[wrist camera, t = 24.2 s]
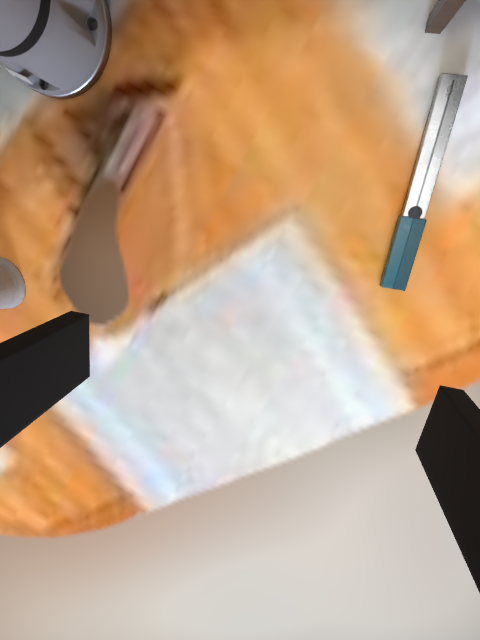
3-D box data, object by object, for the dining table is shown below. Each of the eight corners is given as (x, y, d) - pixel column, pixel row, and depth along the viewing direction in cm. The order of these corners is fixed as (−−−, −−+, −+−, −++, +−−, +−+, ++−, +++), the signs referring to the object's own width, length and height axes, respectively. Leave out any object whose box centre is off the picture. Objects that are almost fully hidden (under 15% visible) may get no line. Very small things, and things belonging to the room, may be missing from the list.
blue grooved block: (402, 288, 46) (405, 290, 45) (379, 284, 46) (381, 287, 45) (466, 78, 38) (471, 74, 37) (437, 75, 38) (441, 72, 37)
